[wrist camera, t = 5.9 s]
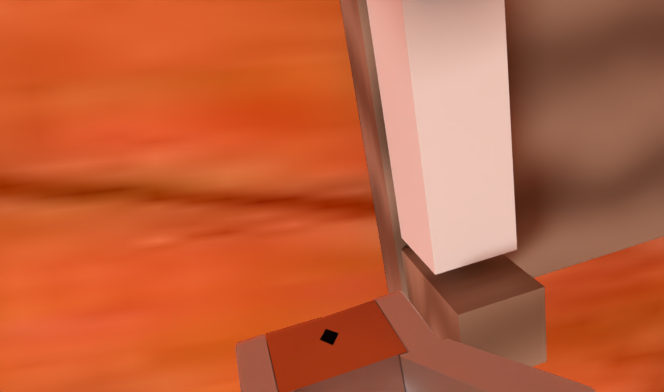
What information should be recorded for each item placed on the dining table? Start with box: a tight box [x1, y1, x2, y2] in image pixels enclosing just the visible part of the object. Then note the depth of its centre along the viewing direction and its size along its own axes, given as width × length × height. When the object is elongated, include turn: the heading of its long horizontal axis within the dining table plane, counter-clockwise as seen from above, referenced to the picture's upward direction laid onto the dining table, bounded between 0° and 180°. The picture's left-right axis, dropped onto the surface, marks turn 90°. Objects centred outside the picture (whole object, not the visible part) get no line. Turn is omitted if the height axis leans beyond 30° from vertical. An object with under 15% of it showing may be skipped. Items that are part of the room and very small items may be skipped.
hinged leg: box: [366, 0, 517, 275], centre depth 18 cm, size 15×4×5 cm, turn 11°
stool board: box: [340, 0, 664, 367], centre depth 21 cm, size 21×20×8 cm
